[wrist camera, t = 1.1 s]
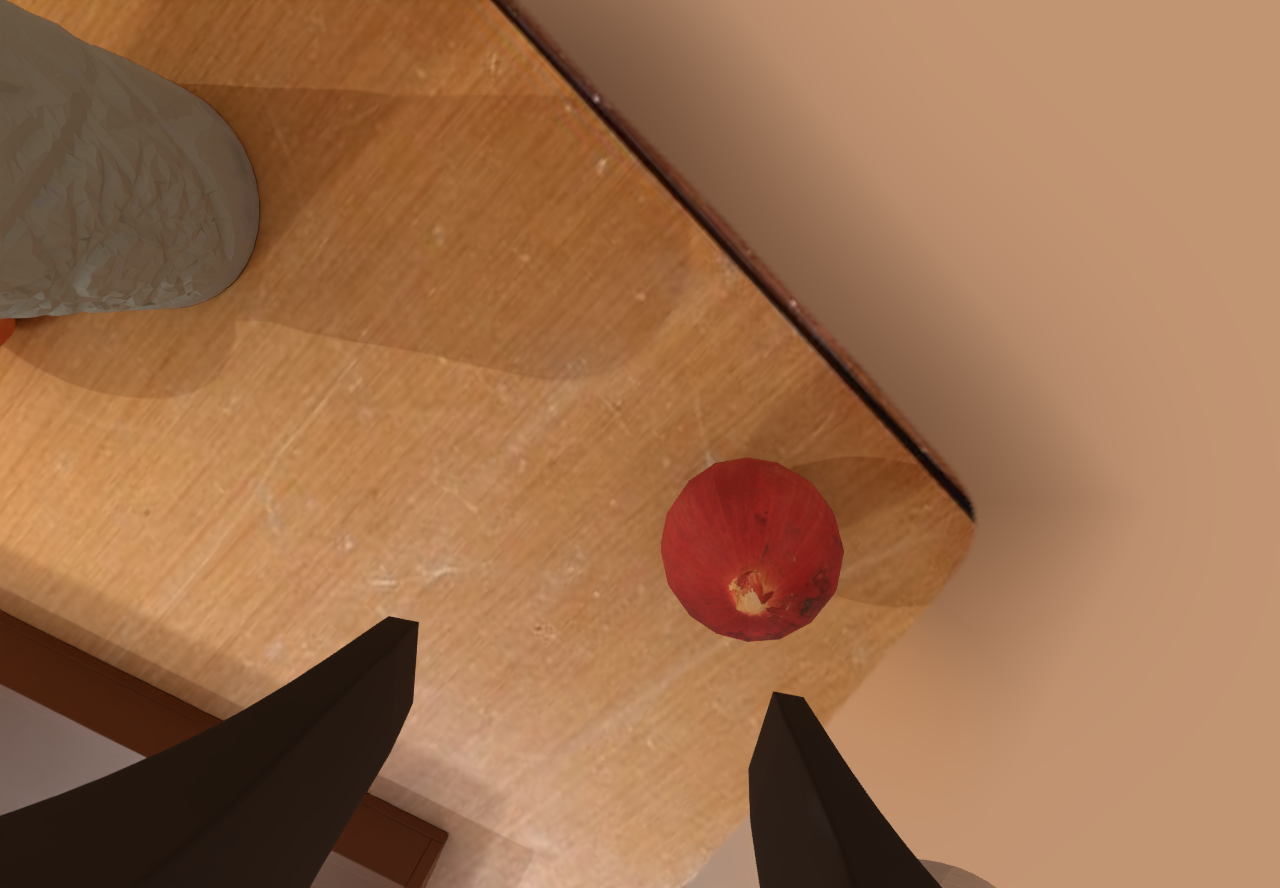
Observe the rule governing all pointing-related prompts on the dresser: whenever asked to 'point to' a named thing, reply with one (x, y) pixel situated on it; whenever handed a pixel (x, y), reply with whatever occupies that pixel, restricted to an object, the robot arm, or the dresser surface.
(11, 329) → the apple
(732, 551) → the pomegranate
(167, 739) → the brown dish
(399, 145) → the dresser surface
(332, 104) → the dresser surface
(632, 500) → the dresser surface
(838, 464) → the dresser surface
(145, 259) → the gray cup
